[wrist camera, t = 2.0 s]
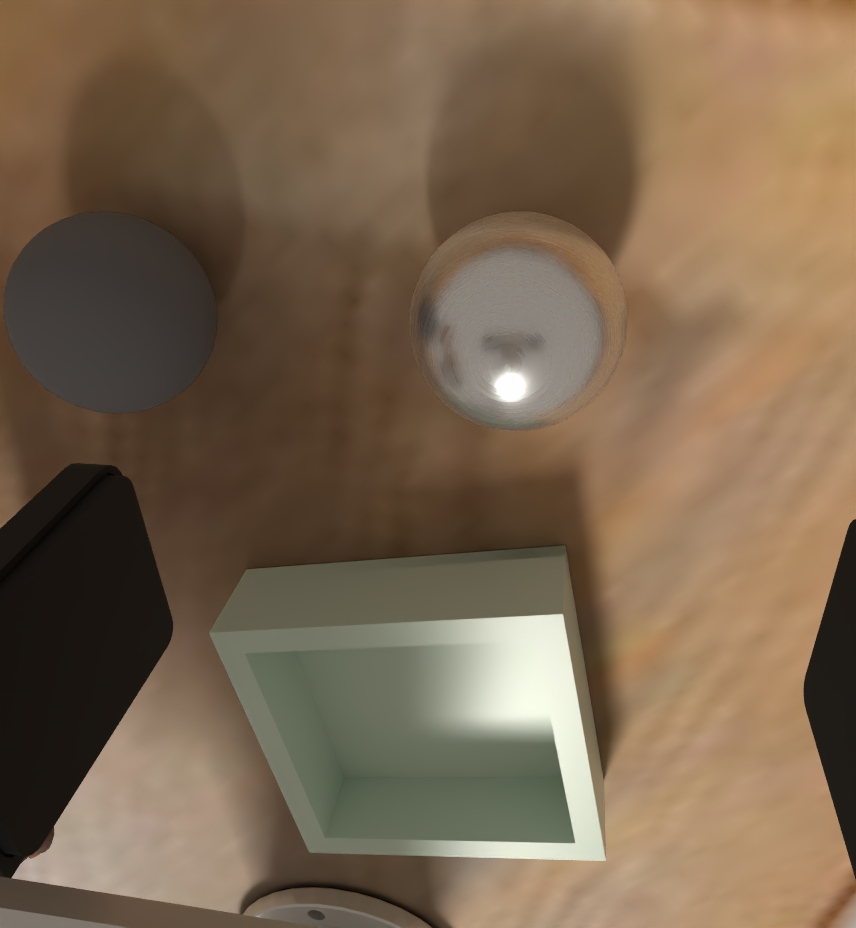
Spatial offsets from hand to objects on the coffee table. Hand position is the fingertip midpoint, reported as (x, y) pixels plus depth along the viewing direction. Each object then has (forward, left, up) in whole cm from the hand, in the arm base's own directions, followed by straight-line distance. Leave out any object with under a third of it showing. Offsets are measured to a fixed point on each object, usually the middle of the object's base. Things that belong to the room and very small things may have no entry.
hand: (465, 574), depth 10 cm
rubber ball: (+1, +11, -14) cm, 18 cm away
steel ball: (-1, 0, -14) cm, 14 cm away
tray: (-16, +6, -14) cm, 22 cm away
